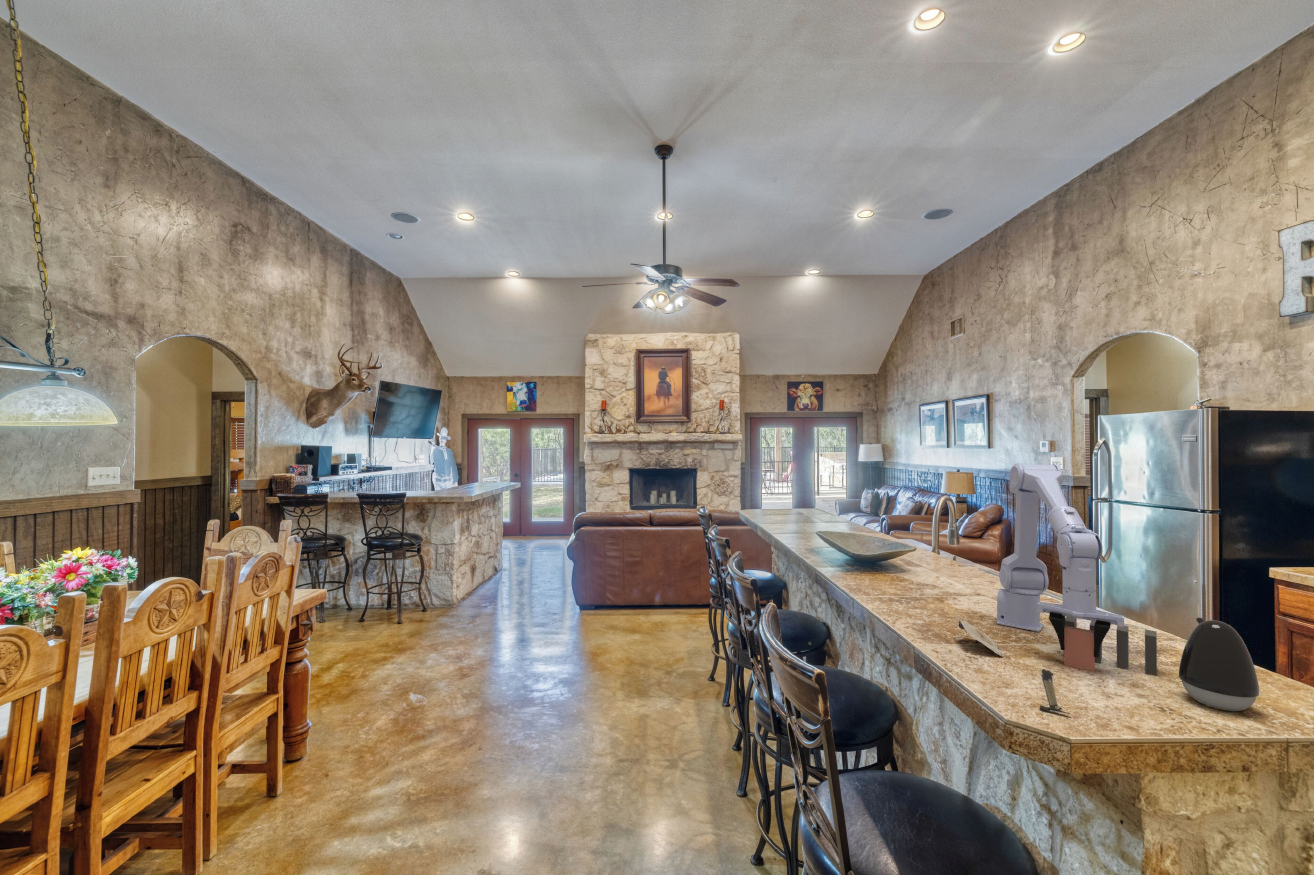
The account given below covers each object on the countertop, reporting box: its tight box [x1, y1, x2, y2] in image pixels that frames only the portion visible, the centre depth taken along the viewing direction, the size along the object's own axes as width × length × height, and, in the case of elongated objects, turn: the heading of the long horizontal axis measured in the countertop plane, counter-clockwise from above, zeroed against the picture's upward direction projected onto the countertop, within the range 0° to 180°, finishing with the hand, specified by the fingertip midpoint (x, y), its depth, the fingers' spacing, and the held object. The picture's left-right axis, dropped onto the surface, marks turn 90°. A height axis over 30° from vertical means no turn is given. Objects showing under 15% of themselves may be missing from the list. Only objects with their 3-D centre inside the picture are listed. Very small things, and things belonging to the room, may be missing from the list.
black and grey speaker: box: [1178, 616, 1260, 712], centre depth 99 cm, size 10×10×15 cm
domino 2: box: [1089, 621, 1103, 665], centre depth 120 cm, size 2×5×8 cm, turn 137°
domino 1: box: [1065, 616, 1078, 628], centre depth 123 cm, size 2×5×8 cm, turn 137°
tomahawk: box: [1039, 668, 1072, 719], centre depth 101 cm, size 21×7×1 cm, turn 145°
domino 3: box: [1116, 625, 1130, 671], centre depth 117 cm, size 2×5×8 cm, turn 137°
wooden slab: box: [958, 619, 1004, 658], centre depth 126 cm, size 11×4×12 cm
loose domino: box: [1063, 626, 1096, 672], centre depth 115 cm, size 2×5×8 cm, turn 47°
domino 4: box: [1144, 629, 1158, 677], centre depth 113 cm, size 2×5×8 cm, turn 137°
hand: (1079, 652), depth 115 cm, fingers closed on loose domino, 5 cm apart
